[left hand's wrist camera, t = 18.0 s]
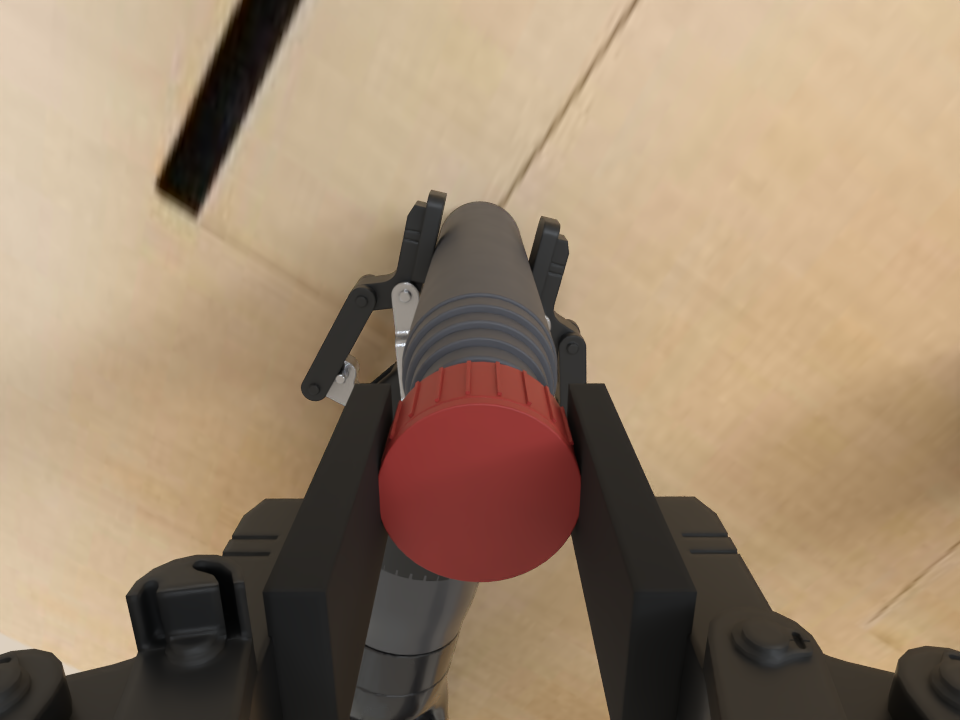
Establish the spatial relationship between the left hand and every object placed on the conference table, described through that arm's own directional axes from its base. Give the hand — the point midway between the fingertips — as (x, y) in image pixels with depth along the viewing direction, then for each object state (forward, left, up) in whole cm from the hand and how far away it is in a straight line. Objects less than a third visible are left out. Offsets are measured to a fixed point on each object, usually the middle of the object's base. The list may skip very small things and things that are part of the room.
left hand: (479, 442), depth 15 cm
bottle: (0, 0, -23) cm, 23 cm away
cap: (0, 0, +2) cm, 2 cm away
